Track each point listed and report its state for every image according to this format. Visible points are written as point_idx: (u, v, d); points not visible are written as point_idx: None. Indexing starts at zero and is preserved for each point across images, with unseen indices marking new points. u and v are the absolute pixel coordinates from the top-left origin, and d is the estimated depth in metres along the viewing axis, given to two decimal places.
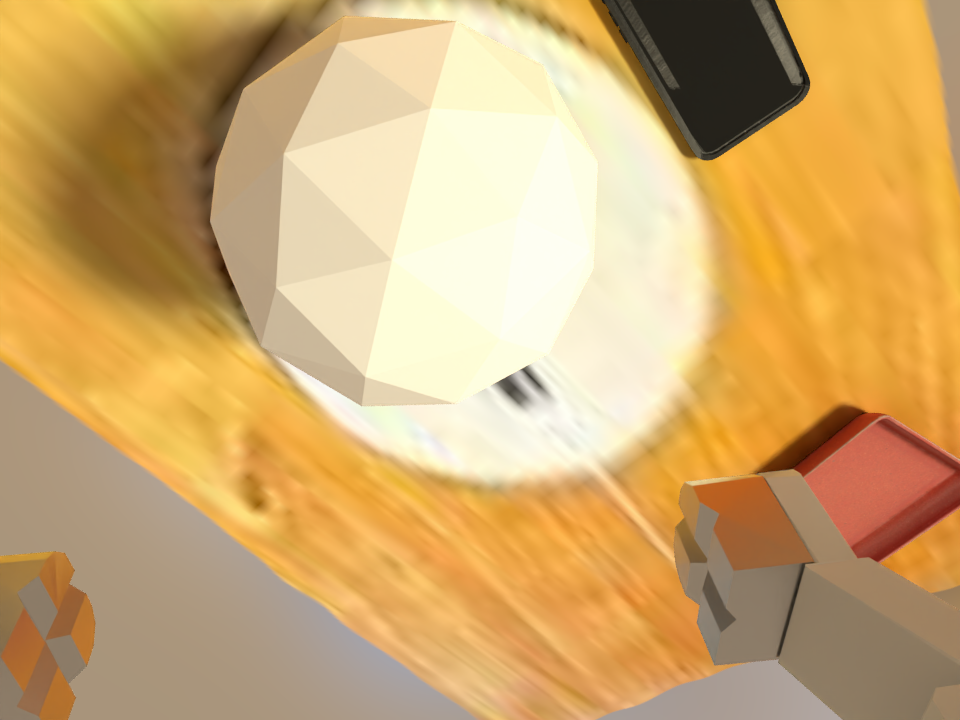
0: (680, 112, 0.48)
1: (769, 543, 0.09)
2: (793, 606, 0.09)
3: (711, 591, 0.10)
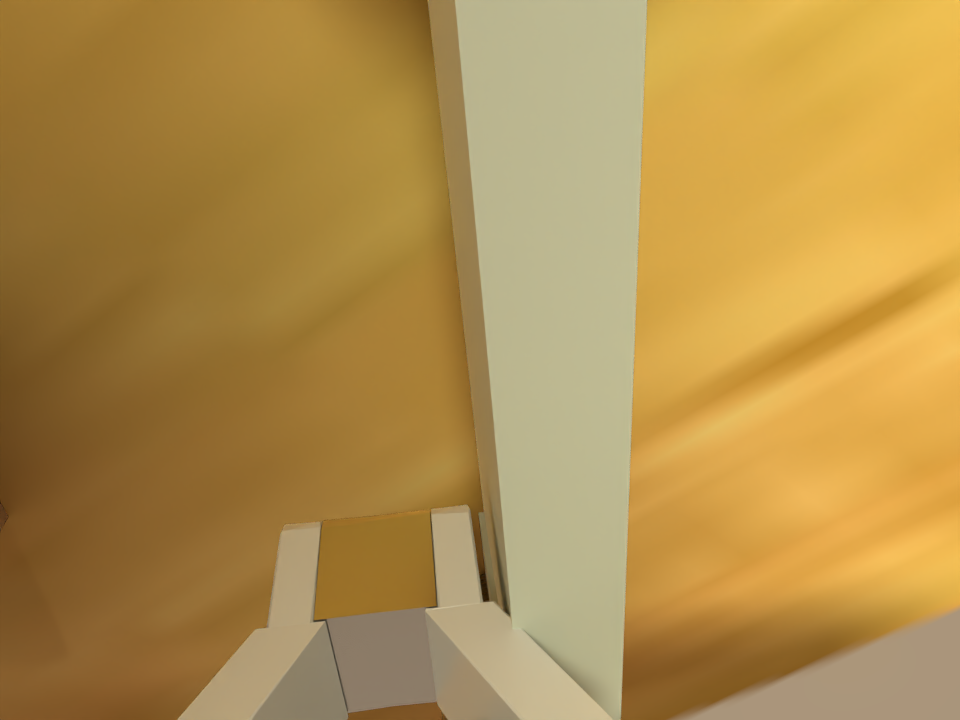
0: None
1: (400, 585, 0.09)
2: (431, 650, 0.09)
3: None
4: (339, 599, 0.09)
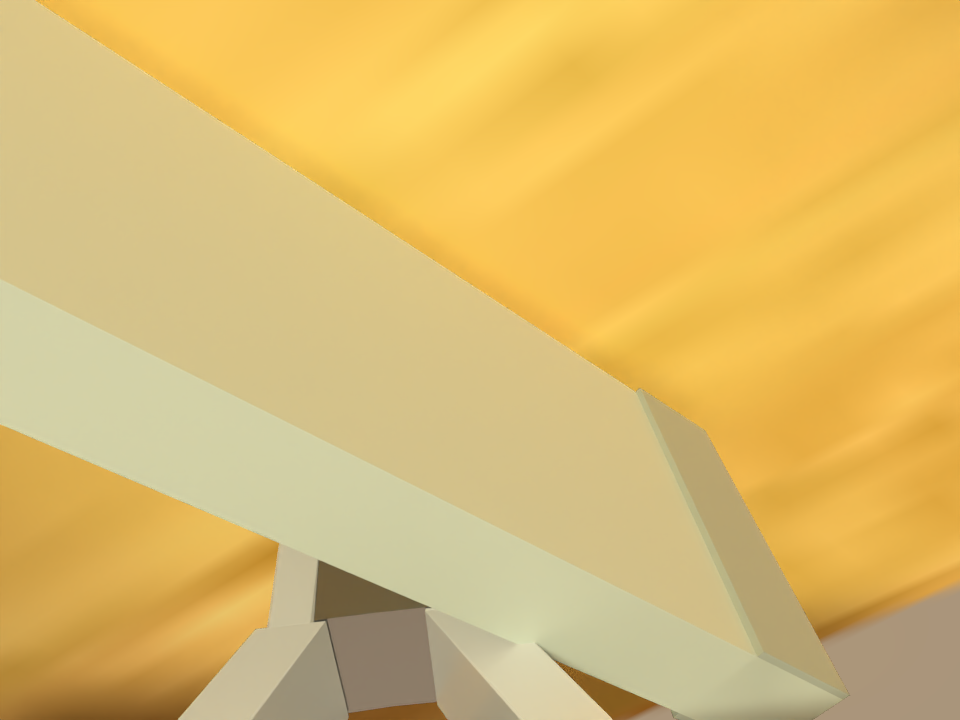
0: None
1: None
2: (431, 650, 0.09)
3: None
4: (340, 598, 0.09)
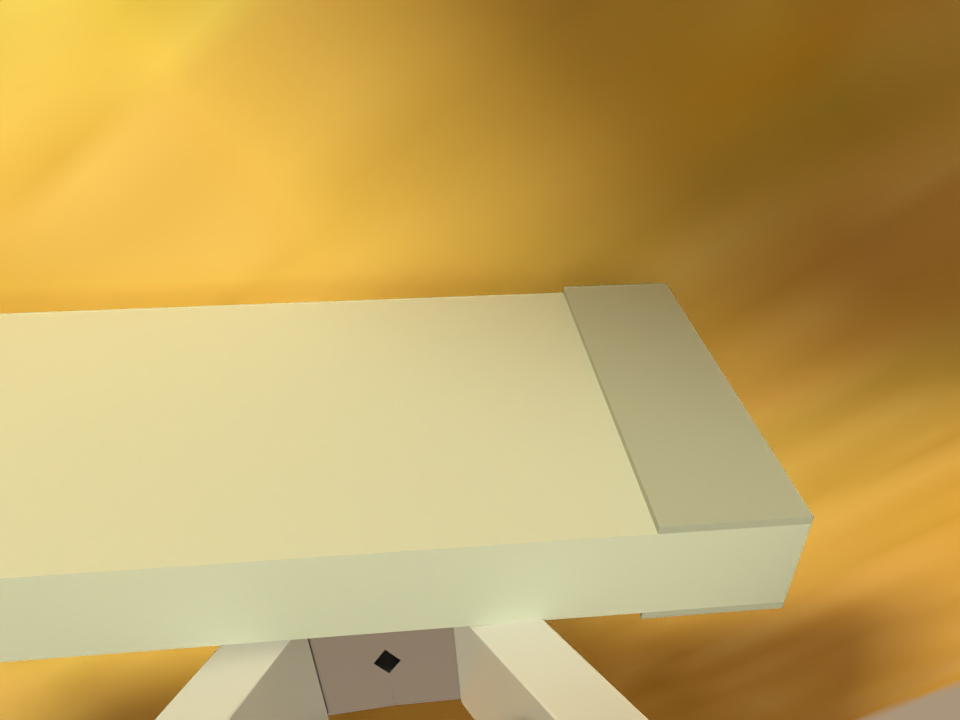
0: None
1: None
2: (456, 647, 0.09)
3: None
4: None
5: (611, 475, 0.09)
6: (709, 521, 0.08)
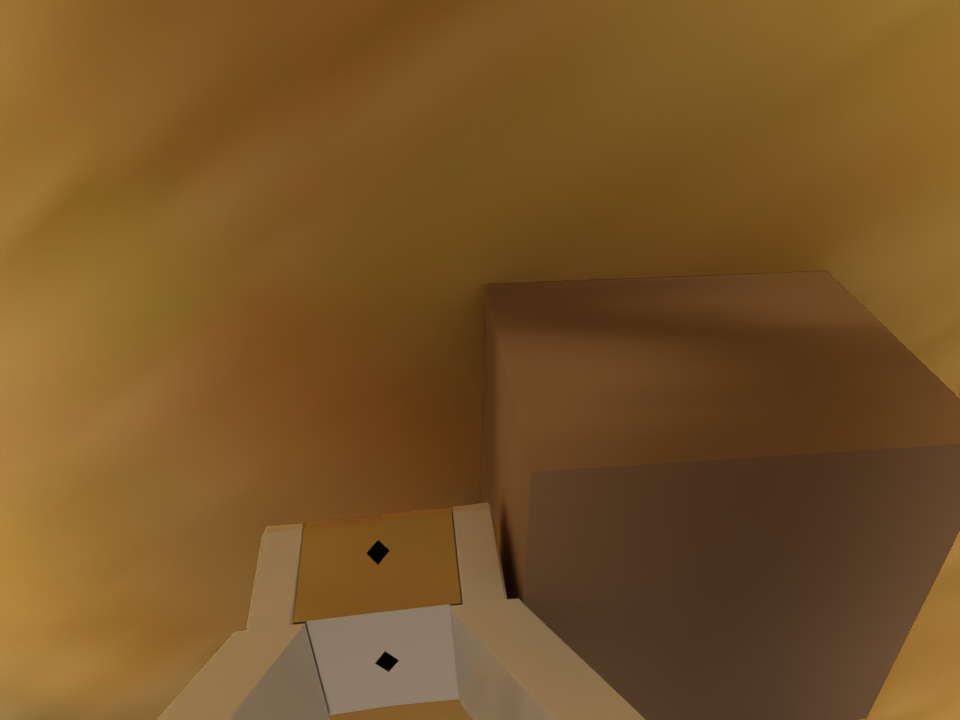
0: None
1: (424, 583, 0.09)
2: (454, 647, 0.09)
3: None
4: (319, 600, 0.09)
5: None
6: None
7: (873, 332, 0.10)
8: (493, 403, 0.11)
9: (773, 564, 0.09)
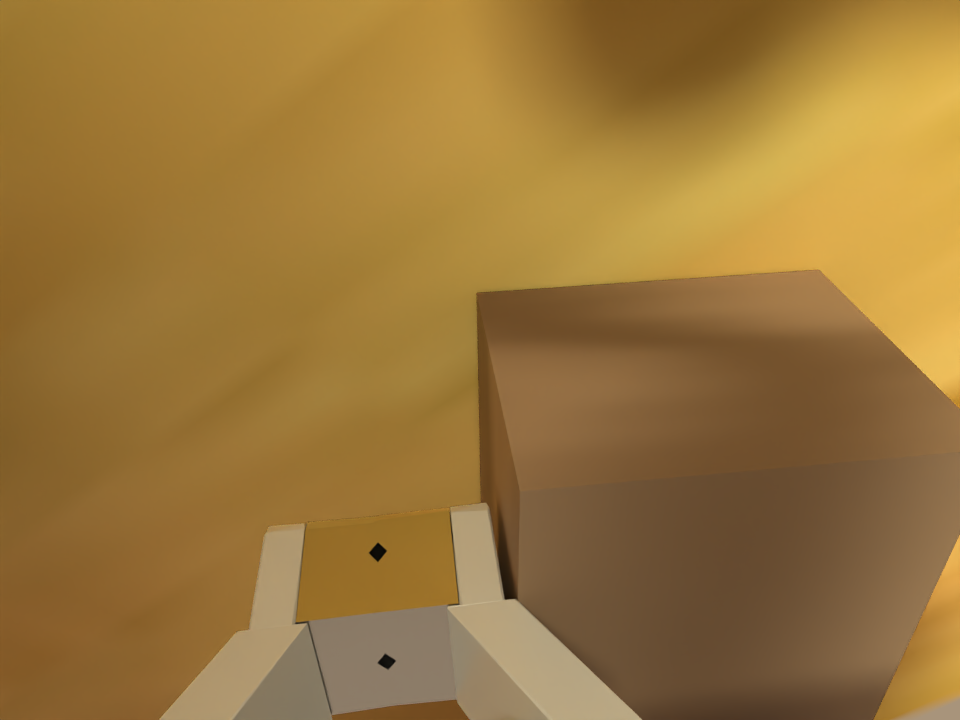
0: None
1: (421, 583, 0.09)
2: (452, 647, 0.09)
3: None
4: (322, 601, 0.09)
5: None
6: None
7: (869, 336, 0.10)
8: (488, 416, 0.11)
9: (769, 574, 0.09)
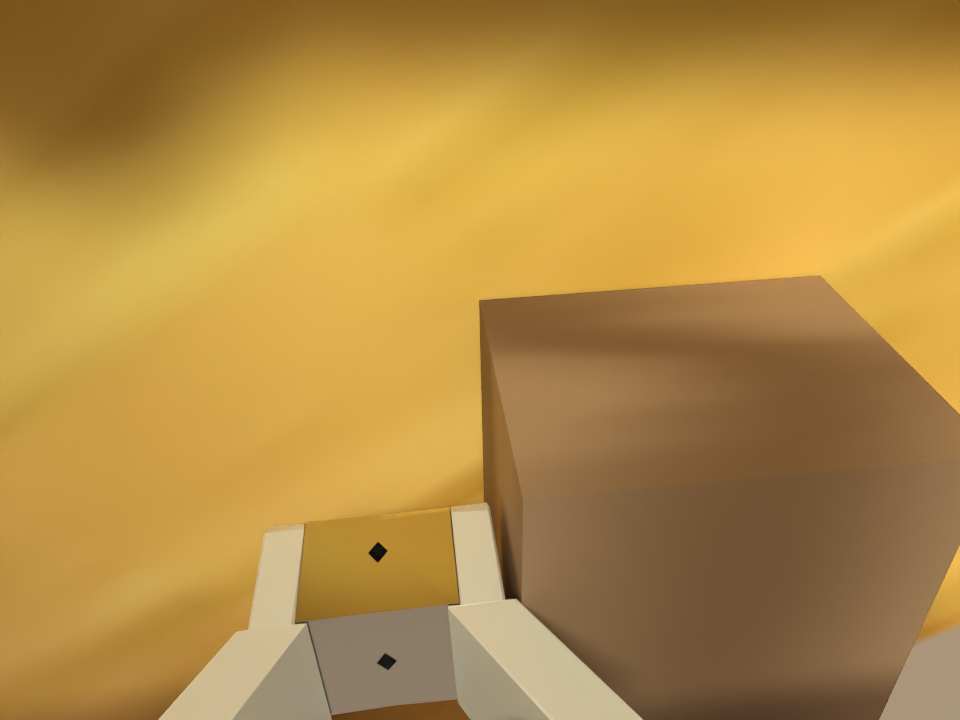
0: None
1: (422, 583, 0.09)
2: (452, 648, 0.09)
3: None
4: (321, 601, 0.09)
5: None
6: None
7: (870, 342, 0.10)
8: (491, 423, 0.11)
9: (772, 581, 0.09)
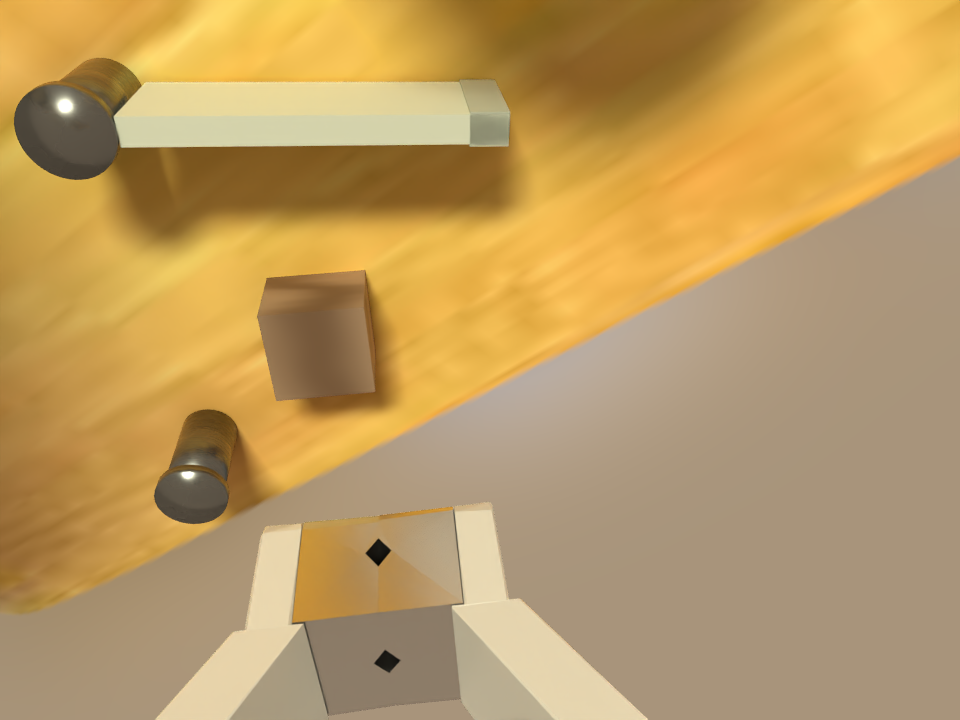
0: None
1: (426, 583, 0.09)
2: (456, 647, 0.09)
3: None
4: (318, 601, 0.09)
5: (461, 108, 0.32)
6: (483, 112, 0.31)
7: (360, 285, 0.39)
8: None
9: (323, 340, 0.38)
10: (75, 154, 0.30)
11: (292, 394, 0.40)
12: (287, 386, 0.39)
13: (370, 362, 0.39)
